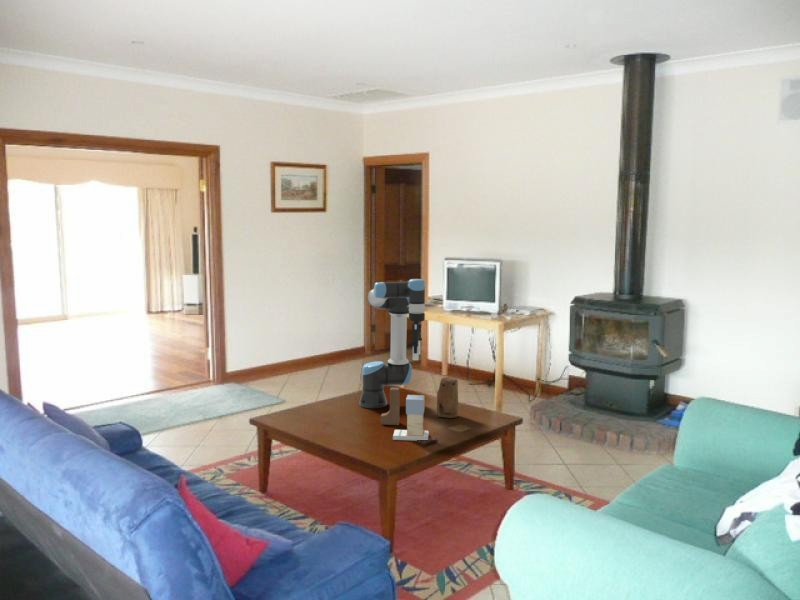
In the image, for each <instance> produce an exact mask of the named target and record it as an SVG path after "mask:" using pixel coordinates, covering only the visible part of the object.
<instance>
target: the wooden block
mask: <svg viewBox="0 0 800 600" xmlns="http://www.w3.org/2000/svg"><path fill="white" fill-rule="evenodd" d="M380 425H381V426H386V425H387V426H399V425H400V387H391V386H390V389H389V410H388V411H387V412H384V413H383V412H382V413H381V415H380Z"/></svg>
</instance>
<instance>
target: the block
mask: <svg viewBox="0 0 800 600" xmlns="http://www.w3.org/2000/svg"><path fill="white" fill-rule="evenodd" d="M458 384H459V383H458V378H457V377H450V376H449V377H442V378H441V380H440V383H439V387H438V390H437V393H436V412H437V414H436V415H437V417H439V418H447V419H449V418H450V419H454V418H457V417H458V414H459V385H458Z"/></svg>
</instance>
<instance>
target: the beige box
mask: <svg viewBox="0 0 800 600" xmlns="http://www.w3.org/2000/svg"><path fill="white" fill-rule="evenodd" d="M406 418H407V419H406V421H407V422H406V430H407V435H422V434H423V430H424V414H423V415H417V414H406Z"/></svg>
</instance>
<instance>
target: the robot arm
mask: <svg viewBox="0 0 800 600" xmlns="http://www.w3.org/2000/svg"><path fill="white" fill-rule="evenodd" d="M425 282H426V281H425V280H424V279H421V278H411V279H409V280H408V281H385V282H384V281H380V282H375V283H374V287H373V289H371V290H370V291H368V293H367V302H368V304H369V305H370V306H371V307H372V308H375V309H378V310H383V311H384V310H386V311H388V312H387V313H388V314H389V315H390V351H389V352H390V353H389V354H390V358H389V359H388V360H387V364H386V363H384V362H383V361H378V360H377V361H371V362H367V363H365V364H364V365H363V366H362V373H361V375H362V377H361V378H362V380H361V381H362V386H361V387H362V390H361V391H362V392H361V395H360V399H359V401H358V402H359V404H358V405H359V407H361V408H364V409H381V408H384V407H387V405H388V399H387V397H386V394H385V391H384V390H385V387H386V386H387V387H388V386H389V387H391V386H406V385H408V384H410V382H411V379H412V375H413V374H412V373H413V370H412V369H413V366H412V364H411V363H410V362H409V359H408V358H407V336H408V335H407V327H408V324H407V323H408V321H410V322H413V324H412V325H411V328H412V344H410V347H412V361H419V360H420V359H419V356H420V355H421V345H422V344H421V341H423V338H422V336H421V333H422V332H421V331H422V323H421V322H424V321H425V320H426V314H425V311H426V302H425V301H426V283H425ZM407 319H408V320H407Z"/></svg>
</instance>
